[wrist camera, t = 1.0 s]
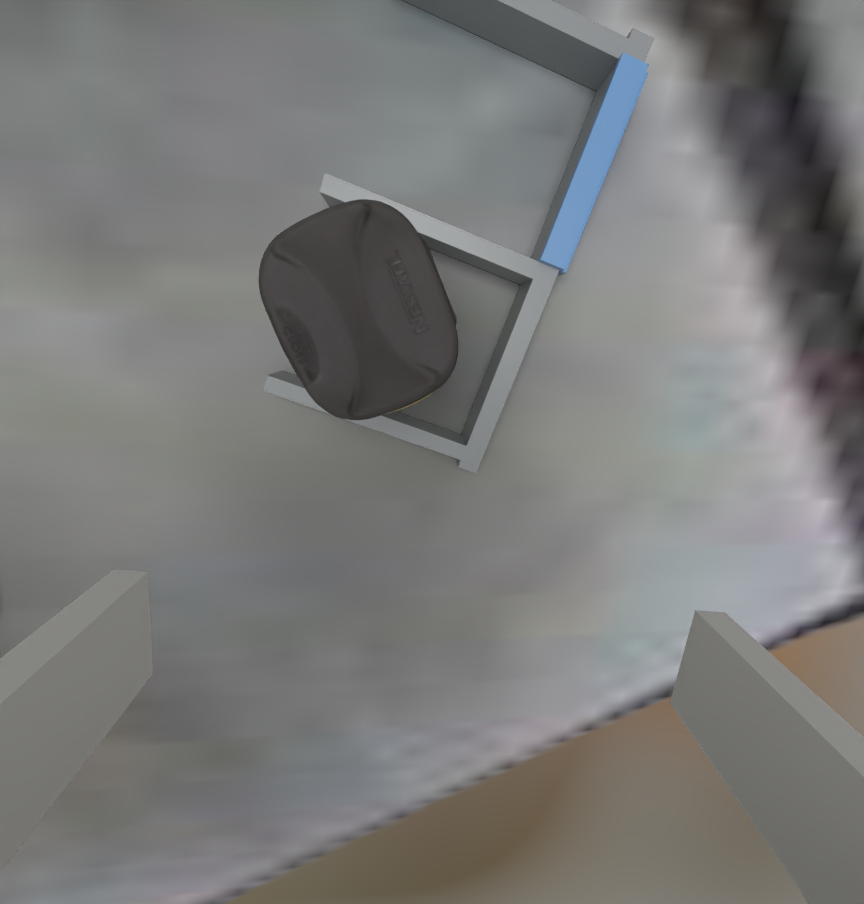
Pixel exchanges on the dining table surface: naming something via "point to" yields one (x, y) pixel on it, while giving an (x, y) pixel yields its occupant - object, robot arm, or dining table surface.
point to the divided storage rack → (618, 87)
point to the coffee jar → (359, 309)
